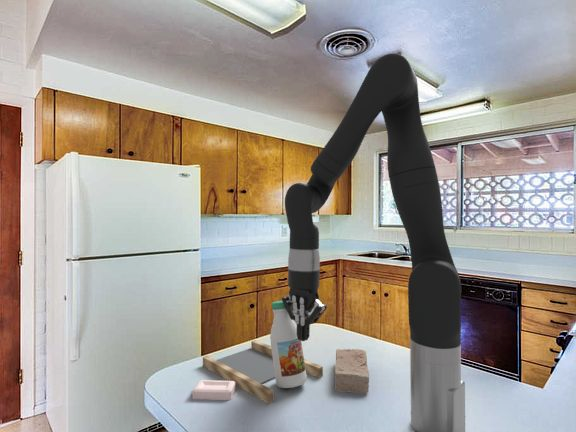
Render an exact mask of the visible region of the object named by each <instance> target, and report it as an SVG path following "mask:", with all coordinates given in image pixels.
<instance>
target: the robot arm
mask: <svg viewBox="0 0 576 432" xmlns="http://www.w3.org/2000/svg"><path fill="white" fill-rule="evenodd" d="M418 85H419V84H418V79H417V75H416V73H415V71H414V69H413V67H412V65H411V63H410V62H409V60H408V58H406V57H405V56H404V55H401V54H399V53H396V52H394V53H387V54H385V55H383V56H380V57H379V58H378V59H376V61H375V62H374V63H373V64H372V65H371V67H370V68H369V70H368V71H367V74H366V75H365V77H364V79H363V81H362V83H361V85H360V87H359V89H358V90H357V93H356V95H355V96H354V98H353V100H352V102H351V104H350V105H349V107H348V109H347V111H346V113H345V114H344V116H343V118H342V120H341V121H340V122H339V125H338V126H337V128H336V130H335V131H334V133H333V134H332V135H331V137H330V138H329V140H328V141H327V143H326V144H325V145H324V147H323V148H322V149H321V151H320V152H319V154H318V155H317V156H316V158H315V159H314V161H313V162H312V164H311V166H310V172H311V176H310V178H309V180H308V182H307V183H303V182H302V183H301V182H298V183H297V182H296V183H294V184H292V185H290V186H289V188H288V189H287V190H286V192H285V197H284V210H285V213H286V222H287V225H288V228H289V251H288V257H287V258H288V259H287V260H288V261H287V263H288V264H287V266H288V267H287V273H288V274H287V285H288V286H287V287H289V291H288V294H287V295H286V296H283V297H281V301H283V304H284V306H285V308H286V310H287V312H288V314H289V317H290V319H291V320H294V322H295V323H296V325H297V337H298V340H301V342H305V341H308V339H309V338H310V333H311V331H310V329H311V327H310V325H313V324H316V323H317V322H318V321H319V319H321V317H322V315H323V314H324V312H326V310H327V307H328V306H327V304H324V303H322V302H321V300H320V296H319V292H318V291H319V288H320V274H321V273H320V266H321V265H320V263H321V262H320V260H321V259H320V258H321V257H320V249H319V248H320V232H319V231H320V230H319V227H318V226H317V225H316V224H315V223H314V222H313V221H314V219H313V214H314V213H316V212H318V211H320V210H321V208H322V207H324V205H325V204H326V203H327V200H328V199H329V198H330V195H331V193H332V191H333V189H334V187H335V184H336V183H337V181H338V180H339V179H340V178H341V176H342V175H343V174H344V172H345V171H346V170H347V169H348V168H349V166H350V165H351V163H352V162H353V161H354V159H355V157H356V155H357V153H358V152H359V149H360V147H361V145H362V143H363V141H364V139H365V137H366V135H367V132H368V131H369V129H370V127H371V126H372V125H373V122H374V121H375V120H376V118H377V117H378V116H379V115H380V114H382V117H383V120H384V124H385V128H386V134H387V154H386V155H387V174H388V178H389V184H390V189H391V193H392V197H393V201H394V204H395V206H396V211H397V214H398V215H399V218H400V221H401V223H402V225H403V227H404V230H405V233H406V235H407V238H408V239H407V240H408V244H409V251H410V257H411V258H410V260H411V273H410V274H409V276H408V282H407V283H408V284H407V298H408V299H407V301H408V302H407V303H408V305H407V307H408V308H407V309H408V325H409V334H410V336H409V337H410V341H409V346H410V348H409V349H410V350H409V353H410V359H409V360H410V363H409V365H410V368H409V369H410V375H409V377H410V425H411V426H412V429H414V430H415V432H465V431H466V383H465V381H464V380H462V354H461V353H462V351H461V349H462V344H461V343H462V290H461V288H462V287H461V277H460V274H459V272H458V270H457V267H456V264H455V263H454V260H453V257H452V253H451V250H450V248H449V244H448V241H447V237H446V232H445V226H444V215H443V214H444V212H443V203H442V202H443V201H442V194H441V188H440V182H439V177H438V173H437V169H436V164H435V161H434V158H433V154H432V150H431V147H430V144H429V141H428V138H427V135H426V133H425V130H424V126H423V123H422V122H423V121H422V117H421V116H422V115H421V108H420V100H419V97H420V96H419V87H418Z"/></svg>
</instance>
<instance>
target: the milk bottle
mask: <svg viewBox="0 0 576 432" xmlns="http://www.w3.org/2000/svg"><path fill="white" fill-rule="evenodd" d="M271 309H272V312H273V321H272V325H271V329H270V334H269V335H270V339H269V340H270V346H271V349H272V357H273V364H274V372H275V379H274V380H275V384H276V386H277V387H278V388H280V389H281V388H282V389H291V388H296V387H300V386H302V385H304V384H305V383H306V382H307V379H308V378H307V373H306V369H305V363H304V359H305V358H304V351H303V345H302V341H301V340H298V337H297V324H296V323H295V321H294V320H291V319H290V317H289V314H288V312H287V310H286V308H285V306H284V304H283V301H282V300H277V301H273V302H271Z"/></svg>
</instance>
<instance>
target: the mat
mask: <svg viewBox="0 0 576 432" xmlns="http://www.w3.org/2000/svg"><path fill="white" fill-rule="evenodd" d="M216 360H217V361H219V362H221V363H223V364H224V365H226V366H228V367H230V368H232V369H234V370H236V371H238V372H240V373H242V374H244V375H245V376H247V377H249V378H251V379H253V380H255V381H257V382H259V383H261V384H263V385H264V384H266V383H268V382H270V381H272V380H276V379H275V372H274V364H273V358H272V357H270V356H268V355H265V354H263V353H261V352H258V351H256V350H254V349H251V347H249V348H246V349H244V350H241V351H238V352H236V353H232V354H229V355H226V356H224V357H221V358H218V359H216Z"/></svg>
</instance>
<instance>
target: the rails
mask: <svg viewBox="0 0 576 432" xmlns="http://www.w3.org/2000/svg"><path fill="white" fill-rule="evenodd" d="M250 348H251V349H254V350H256V351H258V352H261V353H263V354H265V355H268V356H270V357H272V349H271V345H269V344H266V343H263V342H261V341H259V340H256V339H254V340H251V347H250ZM272 358H273V357H272ZM217 360H218V359H215V358H213V357H211V356H209V355H206V356H203V357H202V367H204V368H205V367H206V369H207V368H208V369H207V370H209V369H210V370H209V371H210V372H212V371H213V372H212V373H214V372H215V373H214V374H216V373H217V374H216V375H218V374H219V375H220V376H219V375H218V376H219V377H221V376H222V377H221V378H223V379H224V380H226V379H227V380H226V381H228V380H229V381H234V382H235V386H237V387H239V388H241V389H243V390H244V391H245V392H247V393H249V394H251V395H252V396H254V397H256V398H258V399H260V400H261V401H263V402H265V403H267V404H269V405H270V404H271V403H273V402H275V401H274V400H275V398H274V397H275V395H274V394H275V392H274V389H272V388H270V387H268V386H267V385H264V384H261V383H259V382H257V381H255V380H253V379H251V378H249V377H247V376H245V375H244V374H242V373H240V372H238V371H236V370H234V369H232V368H230V367H228V366H226V365H224V364H223V363H221V362H219V361H217ZM304 363H305V369H306V374H309V375H311V376H314V377H317V378H318V379H319V378H321V377H323V376H324V375H323V374H324V371H323V370H324V366H322V365H320V364H319V363H315V362H313V361H309V360H307V359H305V358H304Z"/></svg>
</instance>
